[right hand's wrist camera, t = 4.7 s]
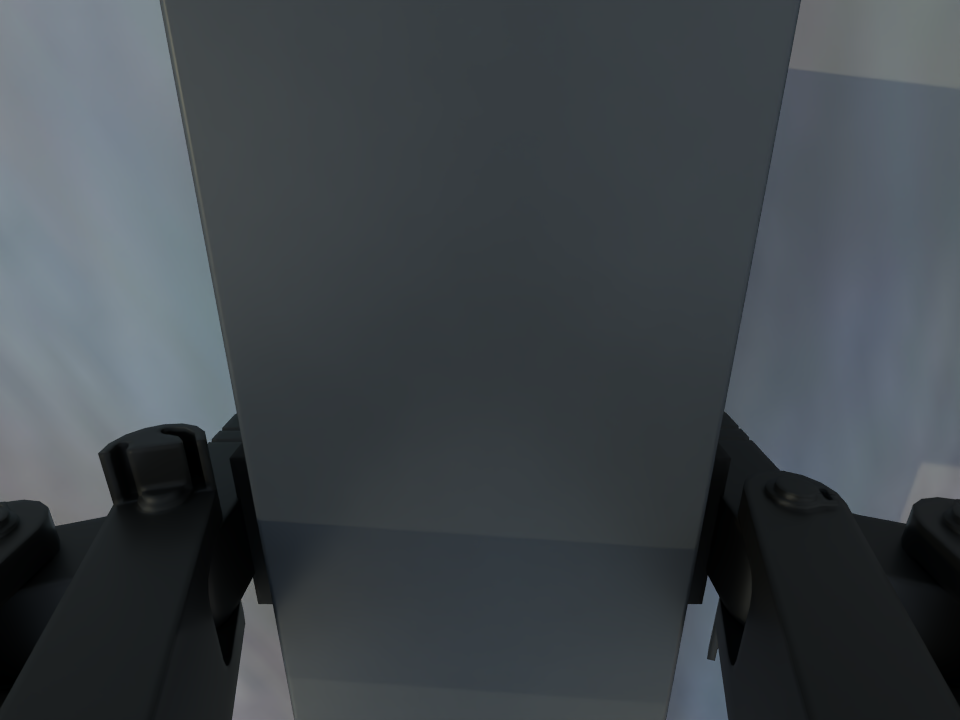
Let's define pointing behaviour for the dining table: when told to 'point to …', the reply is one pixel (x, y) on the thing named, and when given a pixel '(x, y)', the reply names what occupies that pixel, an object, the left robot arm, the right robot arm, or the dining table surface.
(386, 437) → the beam
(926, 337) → the dining table surface
